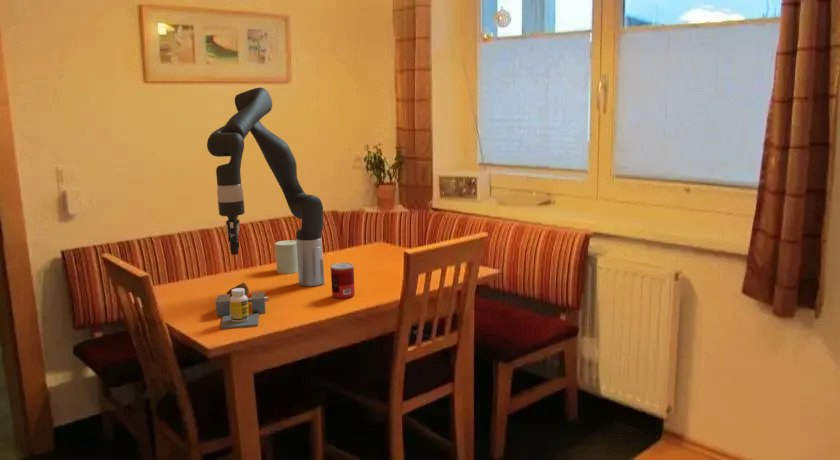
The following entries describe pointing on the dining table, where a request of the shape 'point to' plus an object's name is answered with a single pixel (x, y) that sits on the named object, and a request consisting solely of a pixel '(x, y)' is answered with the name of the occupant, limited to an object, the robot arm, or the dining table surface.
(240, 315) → the supplement bottle
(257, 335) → the dining table surface
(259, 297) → the vise
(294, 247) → the can
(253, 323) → the coaster
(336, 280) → the canned food
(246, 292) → the brown rock
